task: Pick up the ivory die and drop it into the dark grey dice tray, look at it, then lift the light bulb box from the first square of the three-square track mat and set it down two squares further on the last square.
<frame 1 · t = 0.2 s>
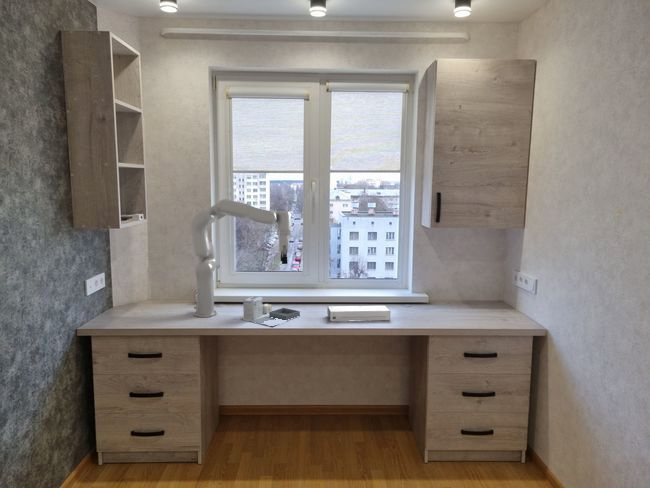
hand: (283, 262, 251), 30 cm above the table, tool pointing down, fingers open, 9 cm apart
light bulb box: (253, 317, 246), resting on track mat
track mat: (263, 320, 241), on the table
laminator: (358, 319, 249), on the table
dice tray: (284, 316, 249), on the table
die: (266, 312, 258), on the table
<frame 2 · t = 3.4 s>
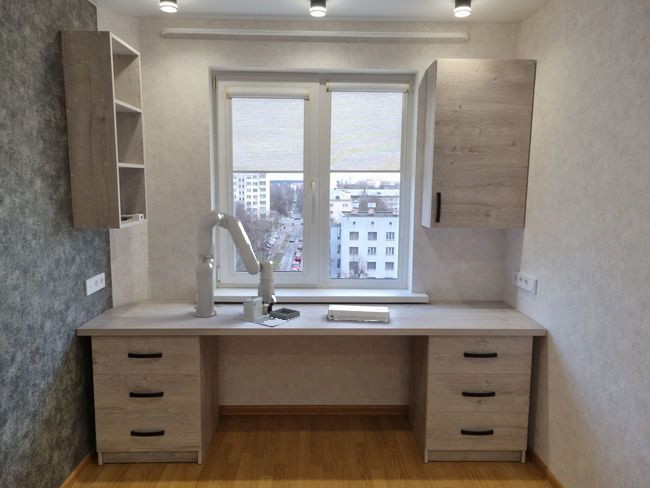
hand: (266, 311, 258), 0 cm above the table, tool pointing down, fingers closed on die, 4 cm apart
die: (266, 312, 258), on the table, touching gripper
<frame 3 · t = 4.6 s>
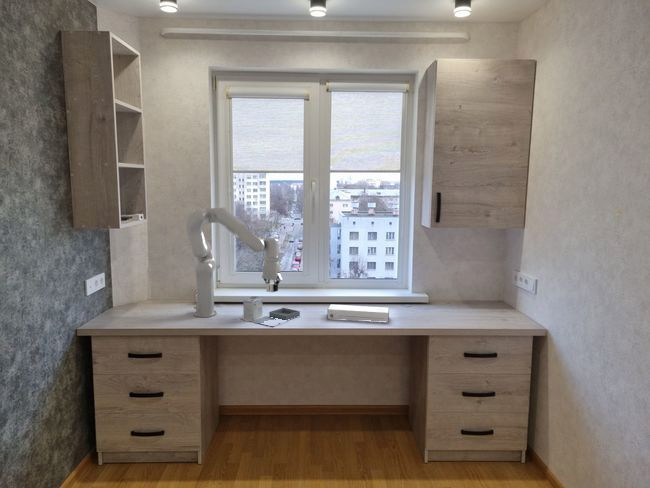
hand: (272, 290, 254), 14 cm above the table, tool pointing down, fingers closed on die, 4 cm apart
die: (271, 291, 254), point 13 cm above the table, touching gripper
when the fingers open (7 cm above the table, at t = 5.9 s): die drops 6 cm, resting on dice tray.
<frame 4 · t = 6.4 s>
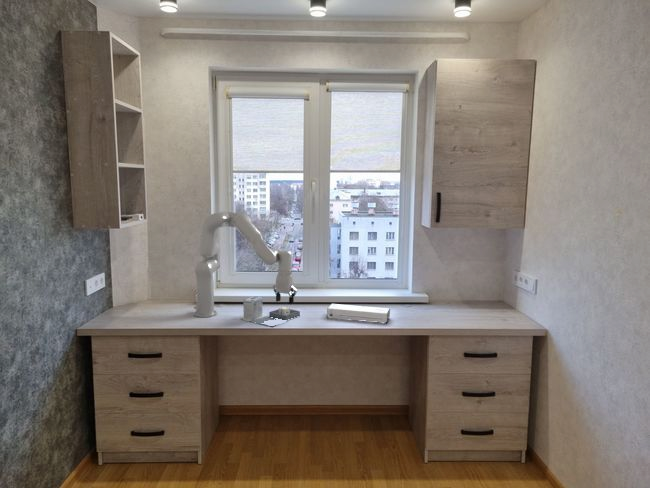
hand: (284, 302, 249), 8 cm above the table, tool pointing down, fingers open, 9 cm apart
die: (284, 315, 250), resting on dice tray
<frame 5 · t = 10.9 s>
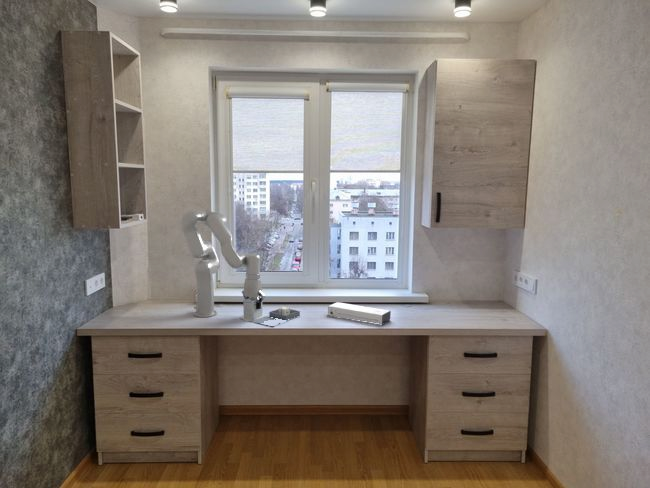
hand: (253, 307, 245), 6 cm above the table, tool pointing down, fingers closed on light bulb box, 8 cm apart
light bulb box: (253, 317, 246), resting on track mat, touching gripper
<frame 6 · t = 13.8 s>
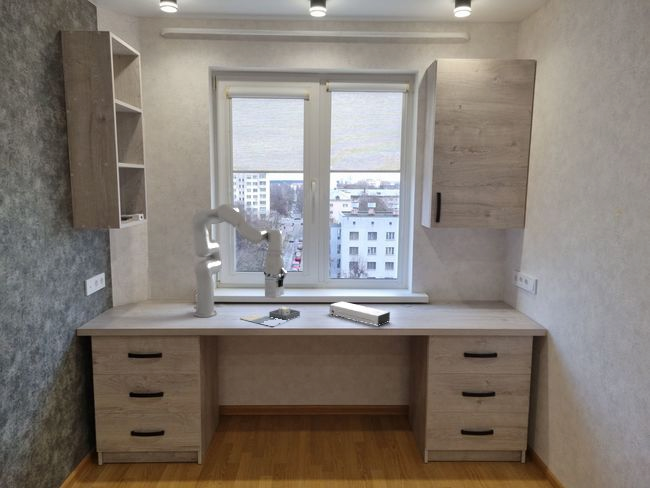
hand: (274, 285, 234), 21 cm above the table, tool pointing down, fingers closed on light bulb box, 8 cm apart
light bulb box: (274, 296, 235), point 15 cm above the table, touching gripper
when the fingers open (7 cm above the table, at t = 16.7 s): light bulb box drops 1 cm, resting on track mat.
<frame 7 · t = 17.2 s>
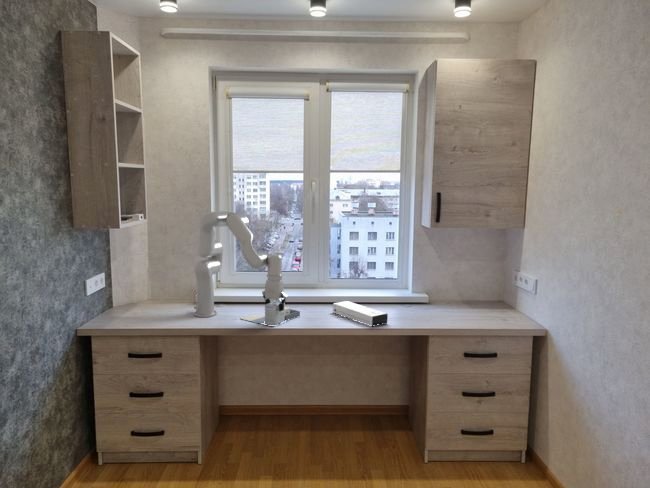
hand: (274, 309, 236), 8 cm above the table, tool pointing down, fingers open, 9 cm apart
light bulb box: (274, 322, 237), resting on track mat
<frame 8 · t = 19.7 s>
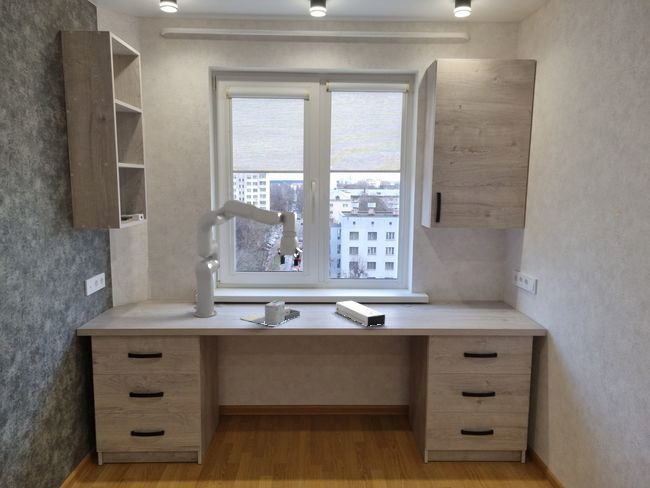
hand: (289, 265, 243), 30 cm above the table, tool pointing down, fingers open, 9 cm apart
at the end: light bulb box inside the target area (0.2 cm from its centre), resting on track mat; light bulb box tilted 0°; die inside the target area on the dice tray (0.3 cm from its centre), point 0.5 cm above the dice tray's base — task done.
